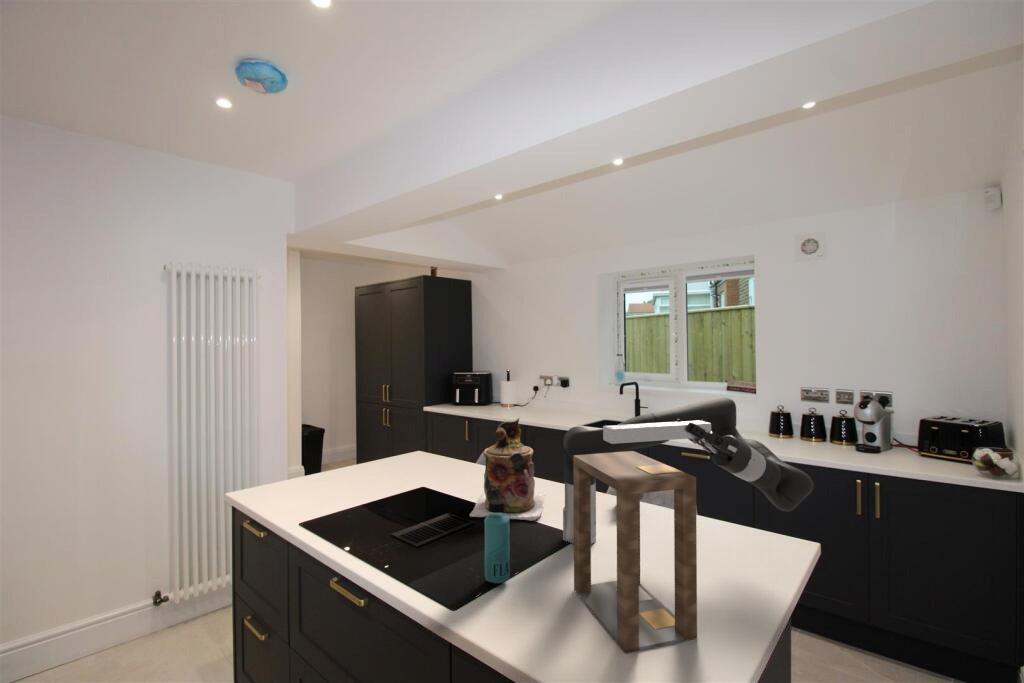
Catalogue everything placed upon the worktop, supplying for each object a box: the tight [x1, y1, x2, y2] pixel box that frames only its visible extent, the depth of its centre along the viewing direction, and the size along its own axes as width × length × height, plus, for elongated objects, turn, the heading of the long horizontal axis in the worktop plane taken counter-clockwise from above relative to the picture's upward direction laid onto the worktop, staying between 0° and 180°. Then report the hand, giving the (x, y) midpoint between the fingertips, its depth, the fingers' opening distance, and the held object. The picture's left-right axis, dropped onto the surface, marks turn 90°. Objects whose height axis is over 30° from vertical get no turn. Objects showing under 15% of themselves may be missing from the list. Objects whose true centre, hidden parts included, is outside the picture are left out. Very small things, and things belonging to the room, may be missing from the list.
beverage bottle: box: [483, 500, 511, 584], centre depth 116 cm, size 6×7×20 cm
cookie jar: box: [469, 417, 546, 522], centre depth 169 cm, size 25×25×32 cm
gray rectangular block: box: [602, 420, 711, 444], centre depth 102 cm, size 24×4×3 cm, turn 105°
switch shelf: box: [573, 450, 698, 654], centre depth 103 cm, size 16×24×32 cm, turn 16°
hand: (682, 424), depth 104 cm, fingers closed on gray rectangular block, 4 cm apart
